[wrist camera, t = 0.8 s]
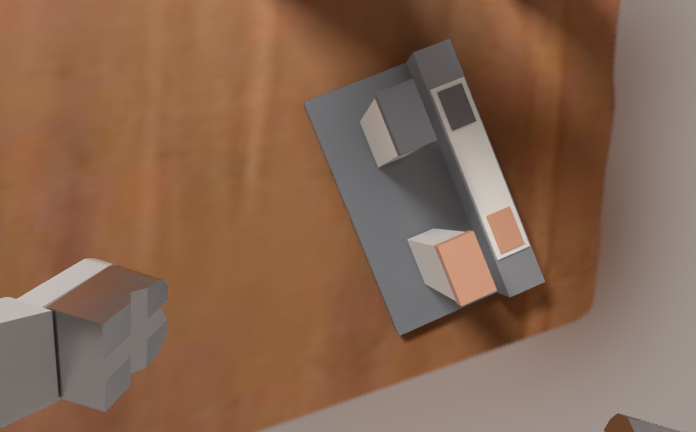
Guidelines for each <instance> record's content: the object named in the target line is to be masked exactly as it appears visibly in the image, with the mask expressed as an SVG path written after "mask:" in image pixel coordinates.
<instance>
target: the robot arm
mask: <svg viewBox="0 0 696 432" xmlns="http://www.w3.org/2000/svg"><path fill="white" fill-rule="evenodd" d="M166 301H168V284H167V283H166V282H165V281H164V280H163V279H159V278H156V277H153V276H150V275H147V274H144V273H141V272H137V271H134V270H131V269H128V268H125V267H122V266H119V265H114V264H112V263H108V262H105V261H102V260H98V259H95V258H86V259H84V260H82V261H80V262H78V263H77V264H75V265H73V266H72V267H70V268H68V269H67V270H65V271H63V272H62V273H60V274H58V275H56V276H55V277H53V278H51V279H50V280H48V281H46V282H45V283H43V284H41V285H40V286H38V287H36V288H34V289H33V290H31V291H29V292H28V293H26V294H24V295H23V296H21V297H19V298H17V299H14V298H10V297H5V298H0V428H2V427H4V426H7V425H9V424H11V423H13V422H15V421H17V420H19V419H21V418H24V417H26V416H28V415H30V414H32V413H34V412H36V411H38V410H41V409H43V408H45V407H47V406H49V405H51V404H53V403H55V402H58V401H59V398H61V399H64V400H68V401H71V402H74V403H78V404H81V405H84V406H88V407H91V408H94V409H97V410H101V411H104V412H105V411H106V410H107V409H108V408H109V407H110V406H111V405H112V404H113V403H114V402H115V401H116V400H117V399H118V398H119V396H120V395H121V394H122V393H123V392H124V391H125V390H126V389H127V388H128V387H129V386H130V385H131V373H134V372H136V371H139V370H141V369H144V368H146V367H147V366H148V365H149V364H150V363H151V362H152V361H153V360H154V358H155V357H156V356H157V354H158V352H159V350H160V348H161V346H162V345H163V343H164V339H165V335H166V331H167V318H166V316H165V315H164V313H163V311H162V310H161V308H160V307H161V306H162V305H163V304H164V303H165V302H166ZM604 431H605V432H685V431H677V430H674V429H671V428H667V427H664V426H660V425H657V424H653V423H650V422H646V421H643V420H640V419H636V418H633V417H629V416H626V415H622V414H619V413H618V414H616V415H615V416H614V417H612V418H611V419H610V421H609V422H608V424H607V426H606V428H605V429H604Z"/></svg>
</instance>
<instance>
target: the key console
mask: <svg viewBox="0 0 696 432" xmlns="http://www.w3.org/2000/svg"><path fill="white" fill-rule="evenodd" d="M411 79H414V82H415V84H416V87H417V89H418V92H419V95H420V97H421V100H422V102H423V105H424V107H425V110H426V112H427V115H428V117H429V120H430V122H431V125H432V127H433V130H434V132H435V135H436V137H437V141H435V142H433V143H431V144H428V145H426V146H423V147H421V148H420V149H418V150H416V151H414V152H412V153H411V154H409V155H407V156H405V157H403V158H401V159H398V160H396V161H393V162H391V163H388V164H386V165H383V166H381V167H378V166H377V164H376V161H375V159H374V156H373V154H372V151H371V149H370V146H369V144H368V141H367V139H366V136H365V134H364V131H363V129H362V126H361V124H360V121H361V119H362V118H363V116H364V115H365V113H366V111H367V110H368V108H369V107H370V105H371V104H372V102H373V101H374V99H375V97H374V96H375V94H376V93H378V92H380V91H383V90H385V89H388V88H391V87H393V86H396V85H398V84H401V83H403V82H406V81H409V80H411ZM304 107H305V110H306V112H307V115H308V117H309V120H310V122H311V125H312V127H313V129H314V132H315V134H316V137H317V139H318V142H319V144H320V147H321V149H322V151H323V154H324V156H325V159H326V161H327V164H328V166H329V169H330V171H331V173H332V176H333V178H334V181H335V183H336V186H337V188H338V191H339V193H340V196H341V198H342V200H343V203H344V205H345V208H346V210H347V213H348V215H349V218H350V220H351V222H352V225H353V227H354V230H355V232H356V235H357V237H358V240H359V242H360V244H361V247H362V249H363V252H364V254H365V257H366V259H367V262H368V264H369V267H370V269H371V271H372V274H373V276H374V279H375V281H376V284H377V286H378V289H379V291H380V293H381V296H382V298H383V301H384V303H385V306H386V308H387V311H388V313H389V316H390V318H391V320H392V323H393V325H394V328H395V330H396V333H397V334H398V335H399V336H401V335H403V334H405V333H407V332H410V331H412V330H414V329H416V328H419V327H421V326H423V325H425V324H428V323H430V322H432V321H434V320H437V319H439V318H441V317H443V316H446V315H448V314H450V313H452V312H455V311H457V310H459V309H461V308H464V307H466V306H468V305H470V304H473V303H475V302H477V301H479V300H482V299H484V298H486V297H488V296H491V295H493V294H495V293H499V294H502V295H504V296H507V297H509V298H510V297H513V296H515V295H517V294H519V293H521V292H524V291H526V290H528V289H530V288H533V287H535V286H537V285H539V284H542V283H544V282H545V280H544V278H543V275H542V272H541V270H540V267H539V265H538V262H537V260H536V257H535V255H534V252H533V249H532V247H531V244H530V242H529V239H528V237H527V234H526V232H525V229H524V226H523V224H522V221H521V219H520V216H519V214H518V211H517V209H516V206H515V203H514V201H513V198H512V196H511V193H510V191H509V188H508V186H507V183H506V180H505V178H504V175H503V173H502V170H501V168H500V165H499V163H498V160H497V158H496V155H495V152H494V150H493V147H492V145H491V142H490V140H489V137H488V135H487V132H486V129H485V127H484V124H483V122H482V119H481V117H480V114H479V112H478V109H477V106H476V104H475V101H474V99H473V96H472V94H471V91H470V89H469V86H468V83H467V81H466V78H465V76H464V73H463V71H462V68H461V66H460V63H459V60H458V58H457V55H456V53H455V50H454V48H453V45H452V43H451V40H450V38H449V39H447V40H444V41H442V42H439V43H436V44H434V45H431V46H429V47H426V48H423V49H421V50H418V51H415V52H413V53H412V54H411V56H410V57H409V59H408V60H407V62H406V63H404V64H401V65H398V66H396V67H393V68H391V69H388V70H385V71H383V72H380V73H378V74H375V75H372V76H370V77H367V78H365V79H362V80H359V81H357V82H354V83H352V84H349V85H346V86H344V87H341V88H338V89H336V90H333V91H331V92H328V93H325V94H323V95H320V96H318V97H315V98H312V99H310V100H307V101H305V102H304ZM433 228H434V229H444V230H453V231H463V232H467V231H474V233H475V236H476V238H477V241H478V243H479V246H480V248H481V251H482V253H483V256H484V259H485V261H486V264H487V266H488V269H489V271H490V274H491V276H492V279H493V281H494V284H495V286H496V289H497V291H495V292H493V293H491V294H488V295H486V296H484V297H482V298H479V299H477V300H475V301H473V302H470V303H468V304H466V305H464V306H460V305H458V304H457V302H456V301H455V300H453V299H451V298H449V297H447V296H446V295H444V294H442V293H440V292H438V291H437V290H435V289H433V288H431V287H430V286H428V285H426V284H425V283H424V280H423V278H422V275H421V273H420V270H419V268H418V265H417V263H416V260H415V258H414V255H413V253H412V250H411V248H410V245H409V243H408V241H407V239H409V238H412V237H414V236H417V235H419V234H421V233H424V232H426V231H428V230H431V229H433Z"/></svg>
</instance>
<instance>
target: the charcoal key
mask: <svg viewBox="0 0 696 432" xmlns="http://www.w3.org/2000/svg"><path fill="white" fill-rule="evenodd" d="M374 97H375V99H374V101H373V102H372V104H371V105H370V107H369V108H368V110H367V111H366V113H365V115H364V116H363V118H362V119H361V121H360V124H361V126H362V129H363V131H364V134H365V136H366V139H367V141H368V144H369V146H370V149H371V151H372V154H373V156H374V159H375V161H376V164H377V166H378V167H381V166H383V165H386V164H388V163H391V162H393V161H396V160H398V159H401V158H403V157H405V156H407V155H409V154H411V153H412V152H414V151H416V150H418V149H420V148H421V147H423V146H426V145H428V144H431V143H433V142H435V141H437V137H436V135H435V132H434V130H433V127H432V125H431V122H430V120H429V117H428V115H427V112H426V110H425V107H424V105H423V102H422V100H421V97H420V95H419V92H418V89H417V87H416V84H415V82H414V79H411V80H409V81H406V82H403V83H401V84H398V85H396V86H393V87H391V88H388V89H385V90H383V91H380V92H378V93H376V94H375V96H374Z"/></svg>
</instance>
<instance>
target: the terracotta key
mask: <svg viewBox="0 0 696 432" xmlns="http://www.w3.org/2000/svg"><path fill="white" fill-rule="evenodd" d="M407 241H408V243H409V245H410V248H411V250H412V253H413V255H414V258H415V260H416V263H417V265H418V268H419V270H420V273H421V275H422V278H423V280H424V283H425V284H426V285H428V286H430V287H431V288H433V289H435V290H437V291H438V292H440V293H442V294H444V295H446V296H447V297H449V298H451V299H453V300H455V301H456V302H457V304H458V305H460V306H464V305H466V304H468V303H470V302H473V301H475V300H477V299H479V298H482V297H484V296H486V295H488V294H491V293H493V292H495V291H497V289H496V286H495V284H494V281H493V279H492V276H491V274H490V271H489V269H488V266H487V264H486V261H485V259H484V256H483V253H482V251H481V248H480V246H479V243H478V241H477V238H476V236H475V233H474V231H467V232H463V231H453V230H444V229H434V228H433V229H431V230H428V231H426V232H424V233H421V234H419V235H417V236H414V237H412V238H409V239H407Z"/></svg>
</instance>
